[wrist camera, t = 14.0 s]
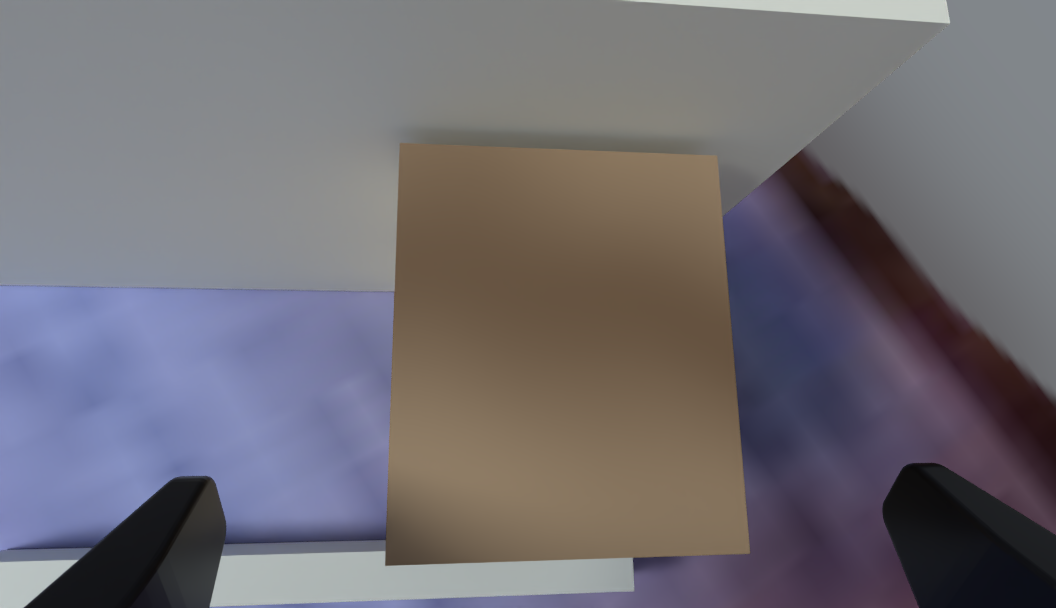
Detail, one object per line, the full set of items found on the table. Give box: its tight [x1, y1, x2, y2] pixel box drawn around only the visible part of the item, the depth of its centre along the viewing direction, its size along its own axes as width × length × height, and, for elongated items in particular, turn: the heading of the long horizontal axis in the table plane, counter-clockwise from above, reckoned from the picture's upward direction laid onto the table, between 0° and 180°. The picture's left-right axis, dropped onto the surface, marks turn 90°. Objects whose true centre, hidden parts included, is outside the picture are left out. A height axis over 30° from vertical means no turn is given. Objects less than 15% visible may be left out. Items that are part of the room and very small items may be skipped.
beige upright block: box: [385, 143, 750, 566], centre depth 14 cm, size 6×5×11 cm
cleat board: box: [0, 0, 950, 608], centre depth 13 cm, size 14×22×14 cm, turn 91°
